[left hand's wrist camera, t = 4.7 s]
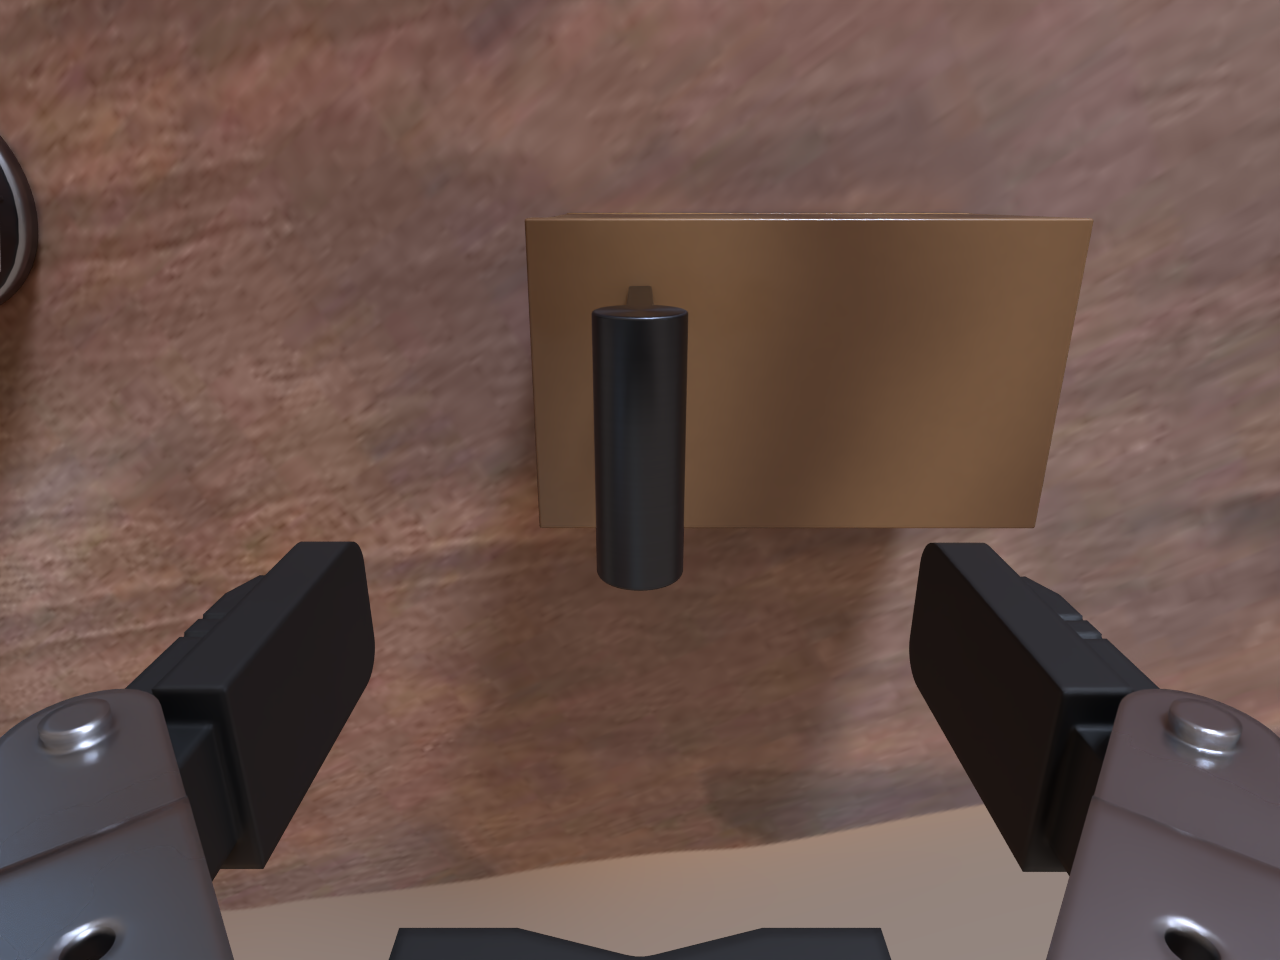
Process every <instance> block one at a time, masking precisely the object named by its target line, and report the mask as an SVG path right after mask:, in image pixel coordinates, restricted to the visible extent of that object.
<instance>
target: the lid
mask: <svg viewBox="0 0 1280 960" xmlns="http://www.w3.org/2000/svg"><path fill="white" fill-rule="evenodd" d="M1092 226H1093V219H1091V218H527V219H525V235H526V256H527V277H528V297H529V318H530V338H531V359H532V379H533V400H534V420H535V441H536V462H537V482H538V503H539V523H540V527H541V528H596V549H597V573H598V575H599V577H600V578H601V579H602V580H603V581H604V582H606V583H607V584H609V585H611V586H614V587H617V588H621V589H626V590H637V591H643V590H654V589H659V588H663V587H666V586H668V585H671V584H673V583H674V582H676V581H677V580H678V579H679V578H680V577H681V575H682V572H683V543H684V528H1034V527H1035V522H1036V517H1037V512H1038V507H1039V502H1040V496H1041V491H1042V486H1043V481H1044V476H1045V470H1046V465H1047V460H1048V455H1049V450H1050V444H1051V439H1052V434H1053V429H1054V424H1055V418H1056V413H1057V408H1058V403H1059V398H1060V392H1061V387H1062V382H1063V377H1064V371H1065V366H1066V361H1067V356H1068V351H1069V345H1070V340H1071V335H1072V330H1073V325H1074V319H1075V314H1076V309H1077V304H1078V299H1079V293H1080V288H1081V283H1082V278H1083V273H1084V267H1085V262H1086V257H1087V252H1088V247H1089V241H1090V236H1091V231H1092Z"/></svg>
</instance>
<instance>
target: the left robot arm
mask: <svg viewBox="0 0 1280 960" xmlns="http://www.w3.org/2000/svg"><path fill="white" fill-rule="evenodd" d="M37 243H38V221H37V212H36V207H35V202H34V199H33V195H32V192H31V189H30V186H29V184H28V181H27V179H26V176H25V174H24V172H23V170H22V168H21V166H20V164H19V162H18V161H17V159H16V157H15V156H14V154H13V152H12V151H11V149H10V148H9V147H8V145H7V144H6V142H5V141H4V140H3V139H2V137H1V136H0V304H2V303H4V302H5V301H6V300H8V299H9V298H10V297H11V296H12V295H13V294H15V293H16V292H17V290H18V289H19V288H20V287H21V286H22V284H23V283H24V281H25V280H26V278H27V276H28V274H29V272H30V270H31V268H32V265H33V262H34V259H35V255H36V250H37ZM1101 635H1102V634H1101V633H1100V632H1099V631H1098V630H1097V629H1096V628H1095V627H1093V626H1092V625H1091V624H1090V623H1089V622H1088V621H1087V620H1083V619H1082V615H1081V614H1080V613H1079V612H1077V611H1076V610H1075V609H1074V608H1073V607H1072V606H1071V605H1070V604H1069V603H1068V602H1067V601H1066V600H1065V599H1064V598H1063V597H1061V596H1060V595H1059V594H1057V593H1055V592H1053V591H1052V590H1050V589H1048V588H1046V587H1044V586H1042V585H1040V584H1038V583H1036V582H1034V581H1033V580H1031V579H1029V578H1027V577H1020V576H1019V575H1018V574H1017V573H1016V572H1015V571H1014V570H1013V569H1012V568H1011V567H1010V566H1009V565H1008V564H1007V563H1006V562H1005V561H1004V560H1003V559H1002V558H1001V557H1000V556H999V555H998V554H997V553H996V552H995V551H994V550H993V549H992V548H991V547H990V546H988V545H987V544H985V543H929V544H928V545H927V546H926V547H925V549H924V551H923V553H922V557H921V562H920V569H919V576H918V583H917V590H916V598H915V605H914V612H913V619H912V627H911V634H910V642H909V655H910V664H911V670H912V674H913V678H914V680H915V683H916V685H917V687H918V689H919V691H920V692H921V694H922V696H923V698H924V699H925V701H926V703H927V705H928V706H929V708H930V710H931V712H932V713H933V715H934V717H935V719H936V720H937V722H938V724H939V726H940V727H941V729H942V731H943V733H944V734H945V736H946V738H947V740H948V741H949V743H950V745H951V747H952V748H953V750H954V752H955V754H956V755H957V757H958V759H959V761H960V762H961V764H962V766H963V768H964V769H965V771H966V773H967V775H968V776H969V778H970V780H971V782H972V783H973V785H974V787H975V789H976V790H977V792H978V794H979V796H980V797H981V799H982V801H983V803H984V804H985V806H986V808H987V810H988V811H989V813H990V815H991V817H992V818H993V820H994V822H995V824H996V825H997V827H998V829H999V831H1000V832H1001V834H1002V836H1003V838H1004V839H1005V841H1006V843H1007V845H1008V846H1009V848H1010V850H1011V852H1012V853H1013V855H1014V857H1015V859H1016V860H1017V862H1018V864H1019V866H1020V867H1021V869H1022V871H1023V872H1067V873H1068V875H1069V876H1070V877H1069V880H1068V884H1067V887H1066V891H1065V894H1064V898H1063V902H1062V905H1061V909H1060V912H1059V916H1058V919H1057V923H1056V926H1055V930H1054V933H1053V937H1052V941H1051V944H1050V948H1049V951H1048V955H1047V958H1046V960H1280V738H1279V737H1278V736H1277V735H1276V734H1275V733H1274V732H1272V731H1271V730H1270V729H1269V728H1267V727H1266V726H1265V725H1263V724H1262V723H1260V722H1259V721H1257V720H1256V719H1254V718H1252V717H1251V716H1249V715H1247V714H1245V713H1243V712H1241V711H1239V710H1237V709H1235V708H1233V707H1231V706H1228V705H1226V704H1224V703H1221V702H1219V701H1216V700H1213V699H1210V698H1207V697H1204V696H1200V695H1196V694H1192V693H1188V692H1183V691H1177V690H1168V689H1160V688H1158V687H1157V686H1156V685H1155V684H1154V683H1153V682H1152V681H1151V680H1150V679H1149V678H1148V677H1147V676H1146V675H1145V674H1144V673H1142V672H1141V671H1140V670H1139V669H1138V668H1137V667H1136V666H1135V665H1134V664H1133V663H1132V662H1131V661H1130V660H1129V659H1128V658H1126V657H1125V656H1124V655H1123V654H1122V653H1121V652H1120V651H1119V650H1118V649H1117V648H1116V647H1115V646H1114V645H1113V644H1112V643H1110V642H1109V641H1108V640H1107V639H1102V637H1101ZM374 655H375V640H374V632H373V624H372V617H371V610H370V602H369V595H368V588H367V581H366V573H365V566H364V559H363V555H362V552H361V549H360V547H359V545H358V544H357V543H355V542H299V543H297V544H296V545H295V546H294V547H293V548H292V549H291V550H290V551H289V552H288V553H287V554H286V555H285V556H284V557H283V558H282V559H281V560H280V561H279V562H278V563H277V564H276V565H275V566H274V567H273V568H272V569H271V570H270V571H269V572H268V573H267V574H266V575H259V576H258V577H256V578H254V579H252V580H250V581H248V582H246V583H244V584H242V585H241V586H239V587H237V588H235V589H233V590H231V591H229V592H227V593H225V594H224V595H223V596H222V597H221V598H220V599H219V600H218V601H217V602H216V603H215V604H214V605H213V606H212V607H211V608H210V609H209V610H208V611H206V612H205V613H204V614H203V619H198V620H197V621H196V622H195V623H194V624H193V625H192V626H191V627H190V628H189V629H187V630H186V631H185V632H184V637H179V638H178V639H177V640H176V641H175V642H174V643H173V644H172V645H171V646H170V647H168V648H167V649H166V650H165V651H164V652H163V653H162V654H161V655H160V656H159V657H158V658H157V659H156V660H155V661H154V662H153V663H152V664H151V665H149V666H148V667H147V668H146V669H145V670H144V671H143V672H142V673H141V674H140V675H139V676H138V677H137V678H136V679H135V680H134V681H133V682H132V683H130V684H129V685H128V686H127V687H126V688H125V689H112V690H103V691H97V692H92V693H88V694H84V695H80V696H76V697H73V698H70V699H67V700H64V701H61V702H59V703H56V704H54V705H52V706H49V707H47V708H45V709H43V710H41V711H39V712H37V713H35V714H33V715H31V716H29V717H28V718H26V719H24V720H23V721H21V722H20V723H18V724H17V725H15V726H14V727H13V728H11V729H10V730H9V731H8V732H6V733H5V734H4V735H3V736H2V737H1V738H0V960H234V958H233V955H232V951H231V948H230V944H229V941H228V937H227V933H226V930H225V926H224V923H223V919H222V916H221V912H220V909H219V905H218V901H217V898H216V894H215V891H214V887H213V884H212V881H213V879H214V878H215V876H216V875H217V873H218V871H219V870H220V869H264V867H265V865H266V863H267V861H268V860H269V858H270V856H271V854H272V853H273V851H274V849H275V847H276V846H277V844H278V842H279V840H280V838H281V837H282V835H283V833H284V831H285V830H286V828H287V826H288V824H289V822H290V821H291V819H292V817H293V815H294V814H295V812H296V810H297V808H298V806H299V805H300V803H301V801H302V799H303V798H304V796H305V794H306V792H307V791H308V789H309V787H310V785H311V783H312V782H313V780H314V778H315V776H316V775H317V773H318V771H319V769H320V767H321V766H322V764H323V762H324V760H325V759H326V757H327V755H328V753H329V752H330V750H331V748H332V746H333V744H334V743H335V741H336V739H337V737H338V736H339V734H340V732H341V730H342V728H343V727H344V725H345V723H346V721H347V720H348V718H349V716H350V714H351V712H352V711H353V709H354V707H355V705H356V704H357V702H358V700H359V698H360V697H361V695H362V693H363V691H364V689H365V688H366V686H367V684H368V682H369V679H370V677H371V673H372V669H373V664H374ZM389 960H891V958H890V955H889V952H888V949H887V946H886V943H885V940H884V936H883V934H882V930H881V928H761V929H756V930H753V931H748V932H744V933H740V934H736V935H732V936H728V937H724V938H720V939H716V940H712V941H708V942H704V943H700V944H696V945H692V946H688V947H684V948H680V949H676V950H672V951H668V952H664V953H660V954H656V955H651V956H645V957H635V956H629V955H624V954H620V953H616V952H612V951H608V950H604V949H600V948H596V947H592V946H588V945H584V944H580V943H576V942H572V941H568V940H564V939H560V938H556V937H552V936H548V935H544V934H540V933H536V932H532V931H528V930H524V929H520V928H399V930H398V934H397V936H396V940H395V943H394V946H393V949H392V952H391V955H390V958H389Z"/></svg>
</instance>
